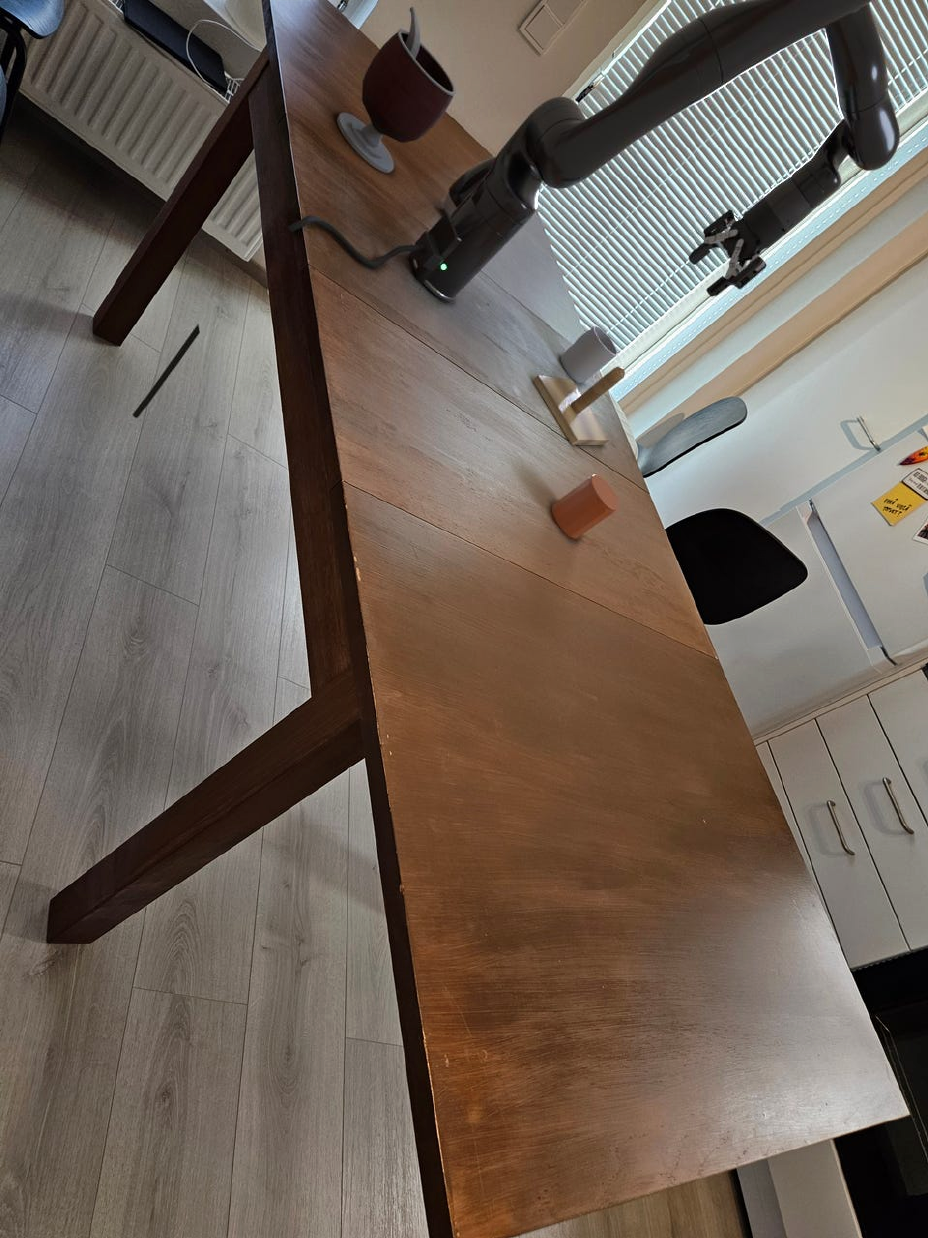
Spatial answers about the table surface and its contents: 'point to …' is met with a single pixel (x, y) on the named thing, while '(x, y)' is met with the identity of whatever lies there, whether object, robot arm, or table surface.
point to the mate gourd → (398, 97)
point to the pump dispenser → (466, 184)
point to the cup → (588, 354)
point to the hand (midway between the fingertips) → (699, 277)
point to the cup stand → (577, 406)
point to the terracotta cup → (585, 506)
